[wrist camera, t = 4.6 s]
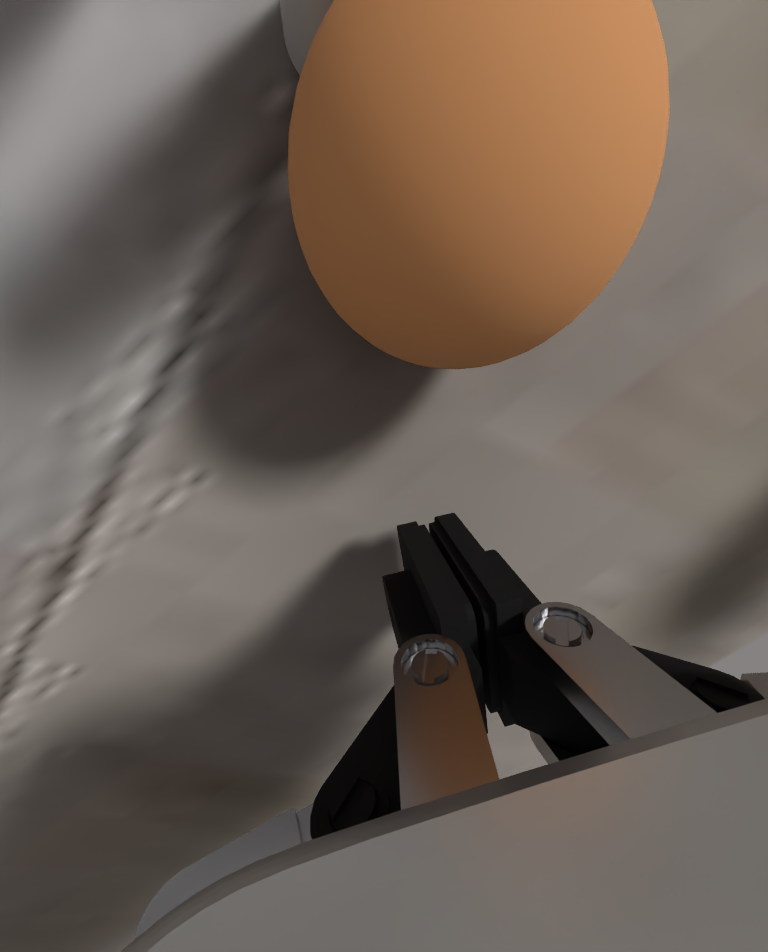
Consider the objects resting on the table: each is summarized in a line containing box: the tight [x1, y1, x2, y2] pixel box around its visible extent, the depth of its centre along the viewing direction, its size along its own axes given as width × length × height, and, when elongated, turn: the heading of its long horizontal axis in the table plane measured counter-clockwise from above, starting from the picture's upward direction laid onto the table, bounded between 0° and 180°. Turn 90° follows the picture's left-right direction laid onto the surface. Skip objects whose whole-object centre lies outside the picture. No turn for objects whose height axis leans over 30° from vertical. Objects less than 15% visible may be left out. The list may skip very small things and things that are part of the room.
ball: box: [288, 0, 670, 369], centre depth 7 cm, size 6×6×6 cm
